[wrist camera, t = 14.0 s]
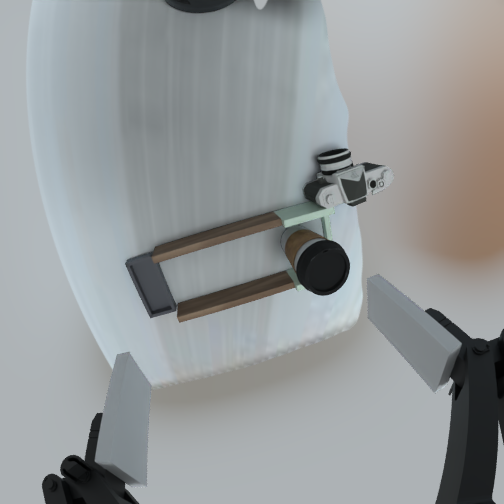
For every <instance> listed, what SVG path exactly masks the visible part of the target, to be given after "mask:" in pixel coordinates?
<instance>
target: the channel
mask: <svg viewBox="0 0 504 504" xmlns="http://www.w3.org/2000/svg"><path fill="white" fill-rule="evenodd" d="M278 226H282V220H281V218H280V217H279V216H278V215H276V214H275V213H274V212H270V213H266V214H263V215H259V216H256V217H252V218H249V219H245V220H242V221H238V222H235V223H231V224H228V225H225V226H221V227H218V228H215V229H211V230H208V231H205V232H201V233H198V234H195V235H192V236H188V237H185V238H182V239H179V240H176V241H172V242H169V243H166V244H163V245H160V246H157V247H155V249H154V252H153V255H152V257H151V258H152V260H153V263H154V264H155V263H159V262H162V261H165V260H168V259H171V258H175V257H178V256H181V255H184V254H188V253H191V252H194V251H198V250H201V249H204V248H207V247H211V246H214V245H217V244H221V243H224V242H227V241H231V240H234V239H237V238H241V237H244V236H247V235H251V234H254V233H258V232H261V231H264V230H268V229H271V228H275V227H278ZM292 288H295V285H294V281H293V280H292V279H291V277H290V276H289V274H288V273H287V272H286V271H283V272H280V273H277V274H273V275H270V276H267V277H264V278H261V279H257V280H254V281H251V282H248V283H244V284H241V285H238V286H235V287H231V288H228V289H225V290H221V291H218V292H215V293H211V294H208V295H204V296H201V297H198V298H194V299H191V300H187V301H184V302H180V303H178V311H177V318H178V320H179V323H180V322H183V321H187V320H191V319H194V318H198V317H201V316H205V315H208V314H212V313H215V312H218V311H222V310H225V309H229V308H232V307H235V306H238V305H242V304H245V303H248V302H252V301H255V300H258V299H261V298H264V297H267V296H271V295H274V294H277V293H280V292H283V291H286V290H289V289H292Z"/></svg>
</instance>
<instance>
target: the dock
mask: <svg viewBox="0 0 504 504" xmlns="http://www.w3.org/2000/svg"><path fill="white" fill-rule="evenodd" d="M273 212H274V213H275V214H276V215H278V216H279V217H280V218H281V220H282V225H283V226H284V227H285V228H286V227H290V226H293V225H297V224H300V223H303V222H307V221H310V220H314V219H317V218H321V219H322V225H323V232H324V238H326V239H328V240H331V241H332V234H331V226H330V219H329V215H331V214H335V210H334V207H332V208H330V209H327V208H325V207H322V206H320V205H318V204H316V203H315V202H312V201H310V202H306V203H302V204H299V205H295V206H291V207H288V208H284V209H281V210H277V211H273ZM286 272H287V273H288V274H289V276H290V277H291V279H292V280H293V281H294V285H295V288H296V290H297V291H300V290H303V289H306V288H304V287H303V286H302V285H301V284H300V282H299V281H298V278H297V274H296V273H295V271H294V269H293V268H292V269H289V270H286Z"/></svg>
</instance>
